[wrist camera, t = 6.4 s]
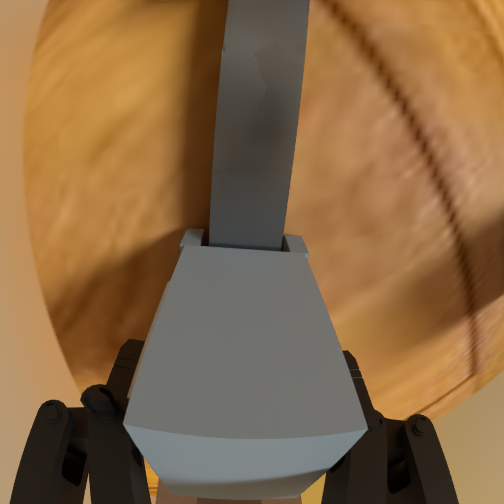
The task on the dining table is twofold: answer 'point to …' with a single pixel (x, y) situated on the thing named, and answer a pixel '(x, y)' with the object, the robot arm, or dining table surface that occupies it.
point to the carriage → (243, 377)
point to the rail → (256, 122)
